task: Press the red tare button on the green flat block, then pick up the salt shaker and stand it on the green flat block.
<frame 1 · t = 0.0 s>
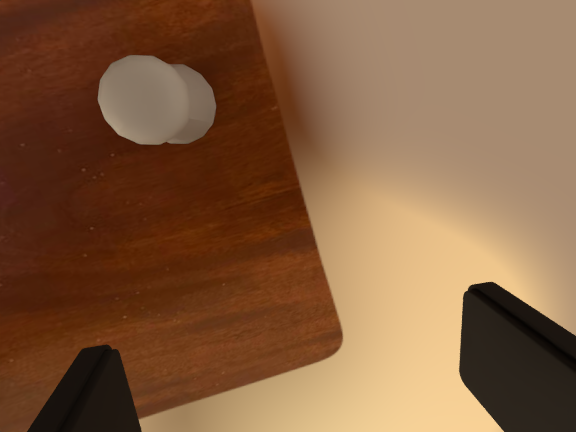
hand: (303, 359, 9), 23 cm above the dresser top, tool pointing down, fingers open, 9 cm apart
salt shaker: (182, 106, 29), on the dresser top
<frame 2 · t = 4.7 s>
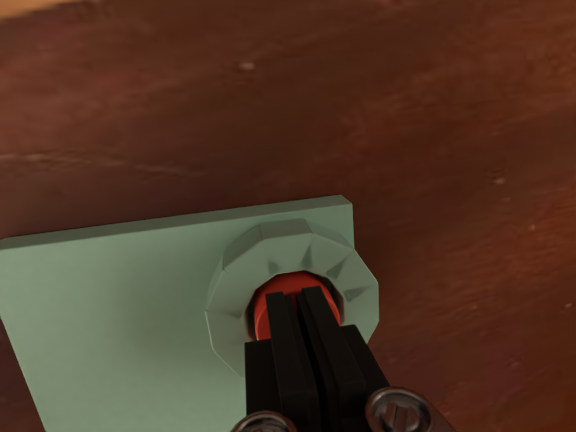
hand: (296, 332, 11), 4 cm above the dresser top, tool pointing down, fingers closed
tare button: (294, 312, 11), point 3 cm above the dresser top, slide at -0.7 cm, touching gripper
green flat block: (211, 372, 15), on the dresser top
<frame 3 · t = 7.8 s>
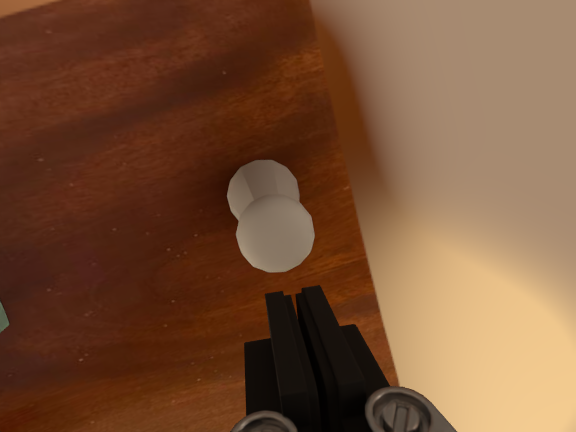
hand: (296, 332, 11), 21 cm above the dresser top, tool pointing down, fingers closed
salt shaker: (261, 189, 31), on the dresser top
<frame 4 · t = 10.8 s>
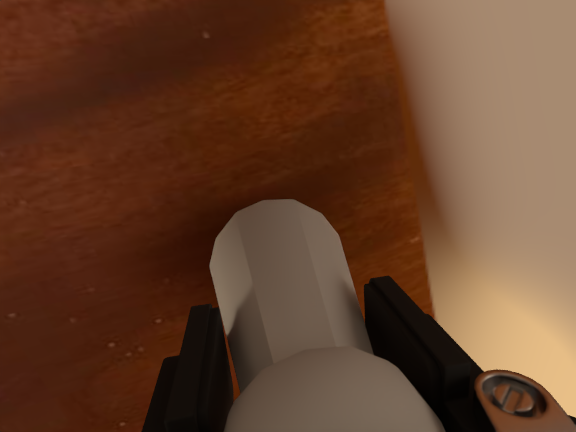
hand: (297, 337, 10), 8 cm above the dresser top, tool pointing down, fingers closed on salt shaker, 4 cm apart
salt shaker: (272, 242, 18), on the dresser top, touching gripper
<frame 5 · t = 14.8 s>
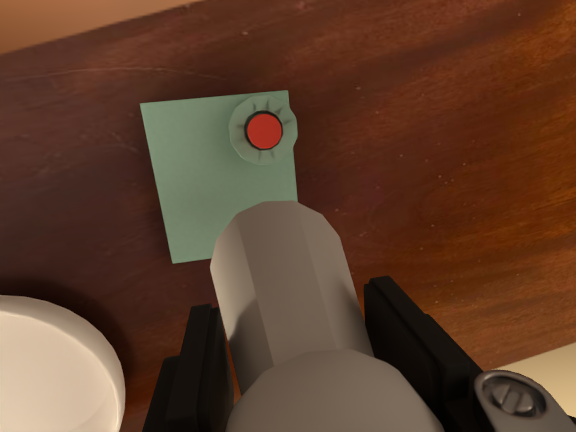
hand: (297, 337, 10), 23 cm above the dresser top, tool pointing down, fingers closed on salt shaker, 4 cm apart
salt shaker: (272, 244, 18), point 15 cm above the dresser top, touching gripper
tare button: (264, 131, 28), point 4 cm above the dresser top, slide at 0.2 cm
bowl: (36, 362, 34), on the dresser top
green flat block: (227, 178, 32), on the dresser top
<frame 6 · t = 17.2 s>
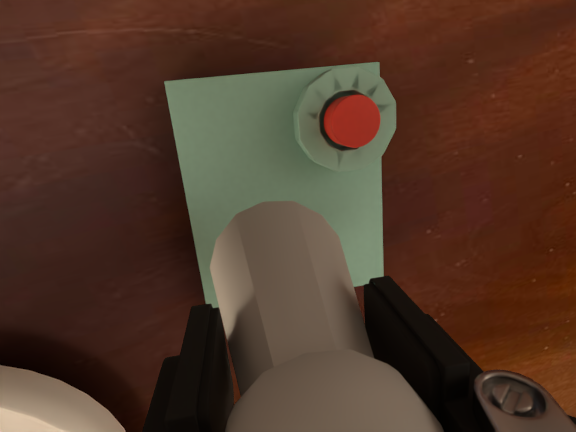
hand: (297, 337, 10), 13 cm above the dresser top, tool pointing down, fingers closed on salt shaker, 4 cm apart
salt shaker: (272, 244, 18), point 5 cm above the dresser top, touching gripper
tare button: (351, 121, 18), point 4 cm above the dresser top, slide at 0.2 cm
green flat block: (284, 189, 23), on the dresser top
when the fingers open (9 cm above the dresser top, at t = 18.8 s): salt shaker stays where it is, resting on green flat block.
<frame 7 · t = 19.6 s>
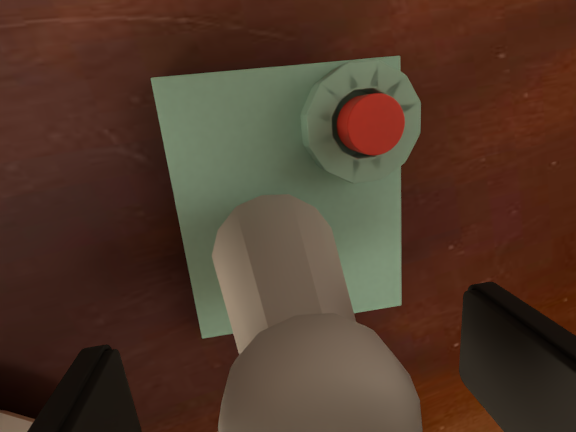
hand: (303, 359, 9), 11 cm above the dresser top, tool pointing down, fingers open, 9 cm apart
salt shaker: (270, 236, 19), point 1 cm above the dresser top, touching green flat block
tare button: (369, 124, 16), point 4 cm above the dresser top, slide at 0.2 cm
green flat block: (290, 201, 20), on the dresser top
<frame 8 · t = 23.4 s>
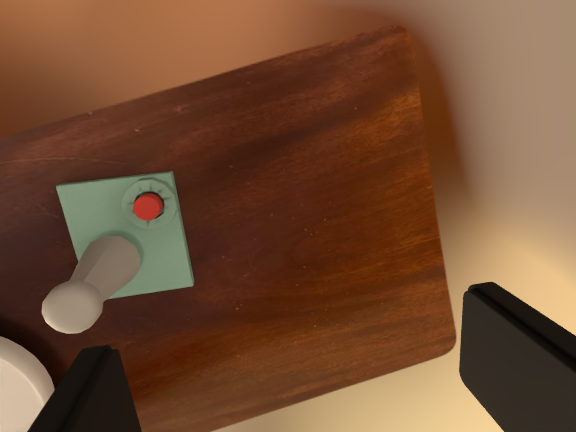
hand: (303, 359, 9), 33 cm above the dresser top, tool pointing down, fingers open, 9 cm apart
salt shaker: (119, 252, 40), point 1 cm above the dresser top, touching green flat block
tare button: (148, 206, 37), point 4 cm above the dresser top, slide at 0.2 cm
green flat block: (132, 235, 41), on the dresser top
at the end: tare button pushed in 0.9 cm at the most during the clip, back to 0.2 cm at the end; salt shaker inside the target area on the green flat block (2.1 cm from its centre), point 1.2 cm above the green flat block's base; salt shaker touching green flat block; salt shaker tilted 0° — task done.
